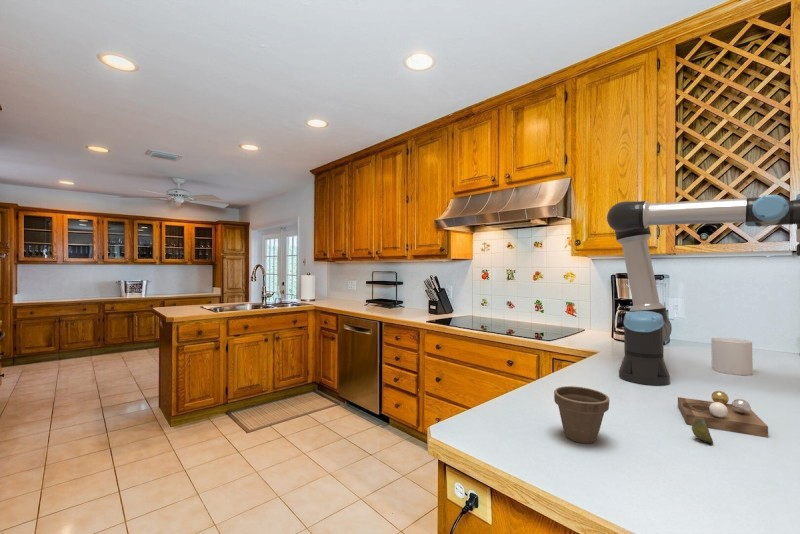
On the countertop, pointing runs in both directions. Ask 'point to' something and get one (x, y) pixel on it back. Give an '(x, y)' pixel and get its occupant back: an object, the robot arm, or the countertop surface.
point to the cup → (732, 356)
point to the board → (722, 418)
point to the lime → (701, 430)
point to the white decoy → (718, 409)
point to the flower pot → (581, 412)
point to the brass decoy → (720, 397)
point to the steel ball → (741, 406)
